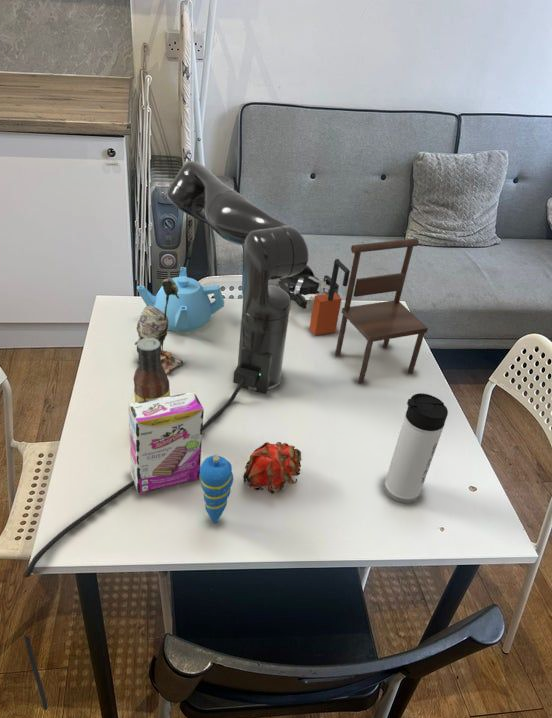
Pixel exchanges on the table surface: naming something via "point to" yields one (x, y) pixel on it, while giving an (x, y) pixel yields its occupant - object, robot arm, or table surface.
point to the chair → (380, 306)
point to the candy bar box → (165, 441)
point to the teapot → (185, 303)
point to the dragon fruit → (272, 466)
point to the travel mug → (415, 447)
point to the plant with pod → (159, 326)
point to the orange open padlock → (328, 305)
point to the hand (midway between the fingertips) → (321, 303)
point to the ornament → (216, 485)
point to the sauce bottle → (150, 372)
